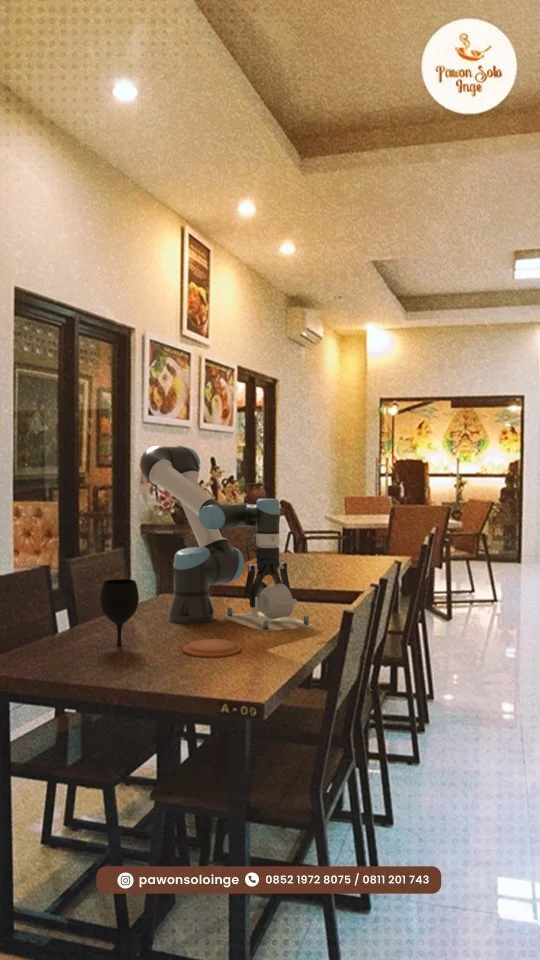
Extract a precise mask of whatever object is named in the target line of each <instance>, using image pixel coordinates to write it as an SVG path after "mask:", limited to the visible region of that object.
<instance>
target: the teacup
mask: <svg viewBox="0 0 540 960" xmlns="http://www.w3.org/2000/svg"><path fill="white" fill-rule="evenodd" d="M297 603H298V600H297V599H296V598H293V596H292V592H291V589H290V590H289V589H288V587H287V586H286V585H284V584H281V583H279V584H277V585H275V584H273V585H270V586H267V587H266V588H265V589H263V590H262V591H261V593H260V596H259V600H258V604H259V606H258V609H259V608H260V609H259V610H260V611H261V612H262V613H263V614H264V615H265V616H266V617H267V618H270V619H277V618H282V617H287V616H288V617H290V616H291V615H292V612H293V611H294V606H295V605H297Z"/></svg>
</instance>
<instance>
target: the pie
mask: <svg viewBox="0 0 540 960" xmlns="http://www.w3.org/2000/svg"><path fill="white" fill-rule="evenodd" d="M182 649H183V650H182V651H183V652H184V653H185V655H189V656H192V657H199V658H223V657H229V656H235V655H237V654H239V653H240V651H241V649H242V647H241V646H240V645H239V644H238V643H235V642H234V641H232V640H228V639H220V638H208V639H206V638H204V639H197V640H193V641H191V642H189V643H188V644H186V645H183V647H182Z"/></svg>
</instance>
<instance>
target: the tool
mask: <svg viewBox="0 0 540 960" xmlns="http://www.w3.org/2000/svg"><path fill="white" fill-rule="evenodd" d="M266 587H268V585H267V584H266V583H265V582H264V581H262V583H261V585H260V588H259V590H258V592H257V595H256V597H258V600H259V596H260V593H261V591H262V590H263V589H265V588H266ZM258 610H260V608H259V604H258Z"/></svg>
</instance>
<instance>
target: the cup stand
mask: <svg viewBox="0 0 540 960" xmlns="http://www.w3.org/2000/svg"><path fill="white" fill-rule="evenodd" d="M226 609H227V610H226V611H227V613H226V614H224V615H223V620H224V619H225V620H227V621H231V622H234V623H236V624H239V625H244V626H246V627H249V628H251V629H255V630H258V631H261V632H264V633H265V632H272V631H280V630H281V631H282V630H294V629H302V628H305V627H310V626H313V627H314V625H313V624H312V623H309V622H310V616H309V615H304V616H303V621H302V620H300V619H297V618H295V617H291V616H287V617H282V618H277V619H270V618H267V617H266V616H265V615H264V614H263V613H262V612H261V610H260V611H259V610H258V618H254V617H252V611H251V612H243V613H234V614H233V607H227V608H226Z"/></svg>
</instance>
